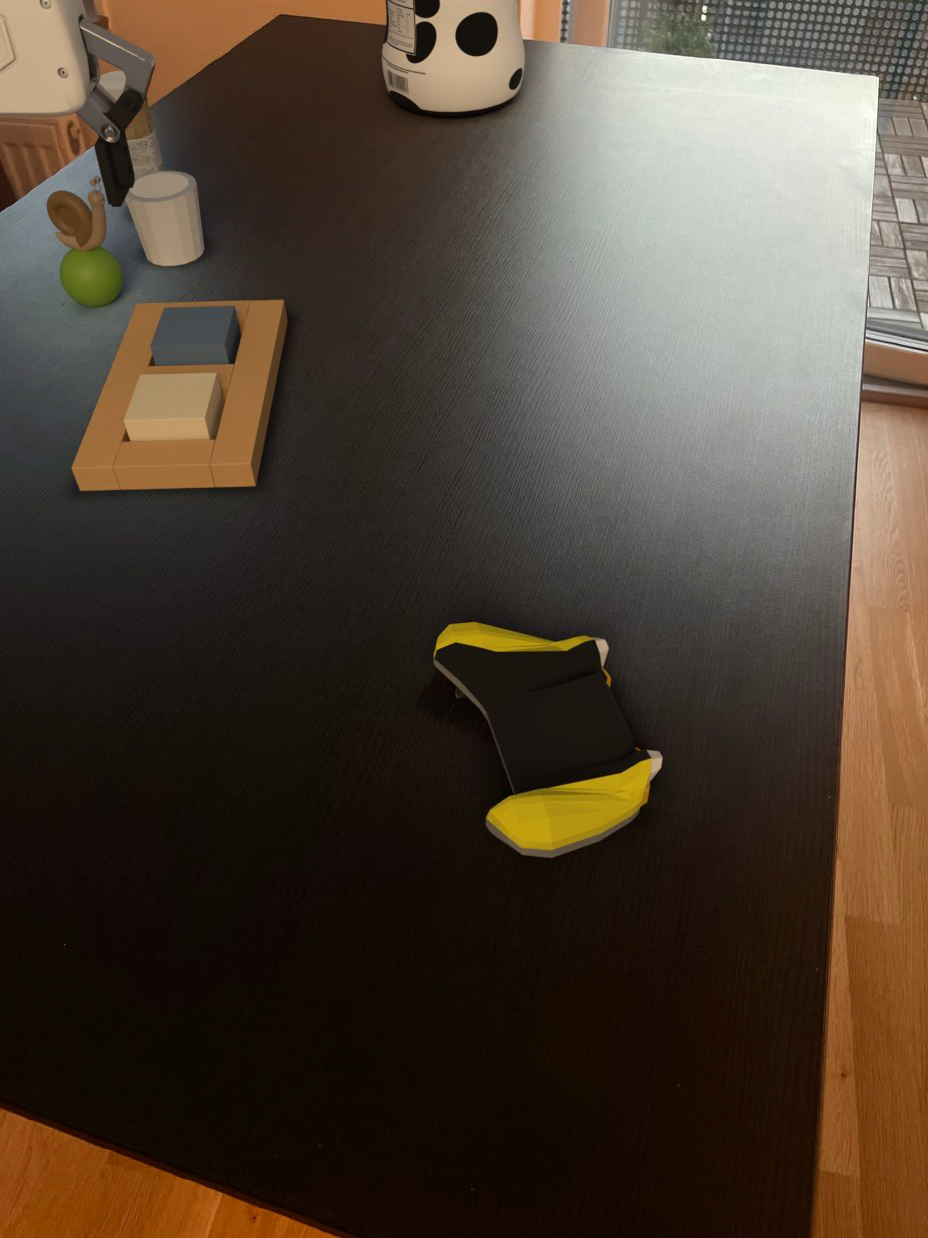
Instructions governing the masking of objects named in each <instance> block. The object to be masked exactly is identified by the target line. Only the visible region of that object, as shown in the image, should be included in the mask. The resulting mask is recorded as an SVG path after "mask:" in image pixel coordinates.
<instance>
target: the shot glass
mask: <svg viewBox="0 0 928 1238" xmlns="http://www.w3.org/2000/svg"><path fill="white" fill-rule="evenodd" d="M197 184H198V183H197V181H196V179H195V177H194V176H192V175H191V174H188V173H187V172H184V171H177V170H165V171H156V172H151V173H146V174H143V175H140V176H137V177H135V183H134V186H133V188H130V189H129V191H128V193H127V196H126V198H125V200H124V201H125V202H126V206H127V207H128V210H129V214H130V216H131V219H132V221H133V224H134V226H135V230H136V232H137V234H138V235H137V236H138V237H139V240H140V243H141V246H142V248H143V252H144V254H145V257H146V259H147V261H149V262H150V263H151V264H154V265H158V266H161V267H162V266H163V267H174V266H175V267H176V266H180V265H186V264H188V263H191V262H193V261H196V260H198V259H199V258H200V257H201V256H202V255H203V254H204V251H205V242H204V235H203V225H202V218H201V209H200V201H199V194H198V185H197Z"/></svg>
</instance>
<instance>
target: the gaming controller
mask: <svg viewBox="0 0 928 1238" xmlns="http://www.w3.org/2000/svg"><path fill="white" fill-rule="evenodd" d="M609 650H610V648H609V645H608V643H607V641H606V639H604V638H601V637H590V636H588V635H579V636H575V637H570V638H567V639H563V640H559V641H555V640H549V639H546V638H543V637H542V638H541V637H538V636H534V635H529V634H525V633H521V632H518V631H513V630H510V629H505V628H501V627H497V626H493V625H490V624H485V623H481V622H476V621H471V622H461V623H451V624H448V625H447V626H446V628H444V630H443V631H441V633H440V634H439V635H438V636H437V639H436V644H435V649H434V652H433V654H432V655H433V665H434V667H436V669H438V671H440V672H441V673H442V674H443V675H444V676H445V677H446V678H447V679H448V680H449V681H450V682H452V684H453V685H455V686H456V687H457V688H458V689H459V690H460V691H461V692H462V693H463V694H464V695H465V696H466V697H468V699H469V700H470V701H471V702H472V703H473V704H474V705H475V706H476V707H477V708H478V709H479V710H480V712H481V713H482V714H483V716H484V717H485V718H486V721H487V723H488V726H489V728H490V731H491V734H492V736H493V740H494V743H495V746H496V748H497V750H498V754H499V757H500V759H501V762H502V765H503V768H504V770H505V773H506V776H507V779H508V782H509V784H510V788H511V790H512V793H513V795H509V796H507V797H504V798H502V800H500V801H498V802H497V803H496V804H495V805H494V806H492V807H491V808H490V809H489V810H488V812H487V814H486V816H485V827H486V828H487V829H488V831H489V832H490V833H491V834H492V835H493V836H495V837H496V838H497V839H499V840H500V841H502V842H503V843H504V844H506V845H508V847H510V848H512V849H513V850H515V851H516V852H517V853H519V854H520V855H521V856H529V857H538V858H549V859H553V858H555V857H558V856H561V855H565V854H567V853H570V852H572V851H575V850H578V849H580V848H583V847H586V846H589V845H592V844H595V843H598V842H601V841H602V840H604V839H605V838H607V837H609V836H611V834H614V833H615V832H616V831H618V830H620V829H621V828H623V827H625V826H627V825H628V824H629V823H631V822H632V821H633V820H635V818H636V817H637V816H638V815H639V814H640V810H641V807H642V806H644V805H645V804H647V803H648V800H649V795H650V789H651V781H652V780H653V779H654V777H655V776H656V775H657V774H658V772H659V771H660V770H661V768H662V764H663V757H664V756H662V754H661V752H660V751H659V750H650V749H646V748H644V749H640V748H639V747H638V745H637V742H636V741H635V738H634V737H633V734H632V732H631V730H630V728H629V725H628V724H627V721H626V720H625V718H624V715H623V713H622V711H621V708H620V707H619V704H618V702H617V701H616V698H615V696H614V694H613V692H612V690H611V683H612V677H611V676H610V674H609V673H608V672H607V671H606V669H604V665H605V662H606V659H607V656H608V653H609Z"/></svg>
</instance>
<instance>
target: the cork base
mask: <svg viewBox="0 0 928 1238" xmlns="http://www.w3.org/2000/svg"><path fill="white" fill-rule="evenodd" d="M205 306H235V309H236V314H237V319H238V324H239V329H240V333H241V340H240V344H239V349H238V353H237V357H236V361H235V365H234V364H217V365H180V366H156V365H155V362H154V358H153V355H152V351H151V348H150V345H151V342H152V340H153V337H154V334H155V331H156V329H157V326H158V323H159V320H160V317H161V315H162V312H163V309H164V308H168V307H205ZM287 327H288V316H287V308H286V303H285V300H284V299H260V300H253V299H252V300H250V299H249V300H247V299H246V300H211V301H207V300H206V301H176V302H175V301H174V302H173V301H171V302H143V303H142V302H141V303H136V304H135V307H134V309H133V311H132V314H131V316H130V319H129V322H128V324H127V327H126V329H125V332H124V335H123V337H122V340H121V341H120V344H119V348H118V350H117V352H116V355H115V356H114V360H113V362H112V365H111V367H110V370H109V372H108V375H107V377H106V380H105V383H104V384H103V387H102V390H101V393H100V395H99V398H98V400H97V402H96V405H95V408H94V410H93V412H92V415H91V418H90V419H89V422H88V425H87V428H86V429H85V433H84V435H83V438H82V441H81V443H80V445H79V448H78V451H77V453H76V455H75V458H74V460H73V462H72V465H71V471H72V474H73V476H74V478H75V481H76V484H77V487H78V489H79V491H80V492H81V491H82V492H83V491H84V492H85V491H86V492H88V491H90V492H91V491H120V490H123V491H124V490H161V489H163V490H165V489H198V488H199V489H200V488H201V489H203V488H205V489H206V488H238V487H239V488H240V487H256V486H257V483H258V477H259V471H260V467H261V462H262V461H261V460H262V456H263V452H264V446H265V441H266V436H267V431H268V425H269V421H270V416H271V409H272V405H273V400H274V395H275V389H276V384H277V378H278V374H279V369H280V362H281V359H282V353H283V348H284V343H285V338H286V332H287ZM184 373H217V375H218V380H219V384H220V388H221V392H222V397H223V401H224V409H223V413H222V417H221V421H220V425H219V429H218V433H217V437H216V440H215V439H214V440H176V441H138V442H131V441H130V438H129V435H128V432H127V429H126V426H125V423H124V418H125V415H126V413H127V410H128V407H129V404H130V401H131V399H132V396H133V393H134V390H135V387H136V385H137V382H138V379H139V376H140V375H146V374H184Z"/></svg>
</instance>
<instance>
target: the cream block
mask: <svg viewBox="0 0 928 1238" xmlns="http://www.w3.org/2000/svg"><path fill="white" fill-rule="evenodd" d="M223 409H224V401H223V397H222V392H221V388H220V384H219V380H218V375H217V373H184V374H146V375H140V376H139V379H138V382H137V385H136V387H135V390H134V393H133V396H132V399H131V401H130V404H129V407H128V410H127V413H126V415H125V418H124V423H125V426H126V429H127V432H128V435H129V438H130V441H131V442H138V441H176V440H214V439H215V440H216V437H217V433H218V429H219V425H220V421H221V417H222V413H223Z"/></svg>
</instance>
